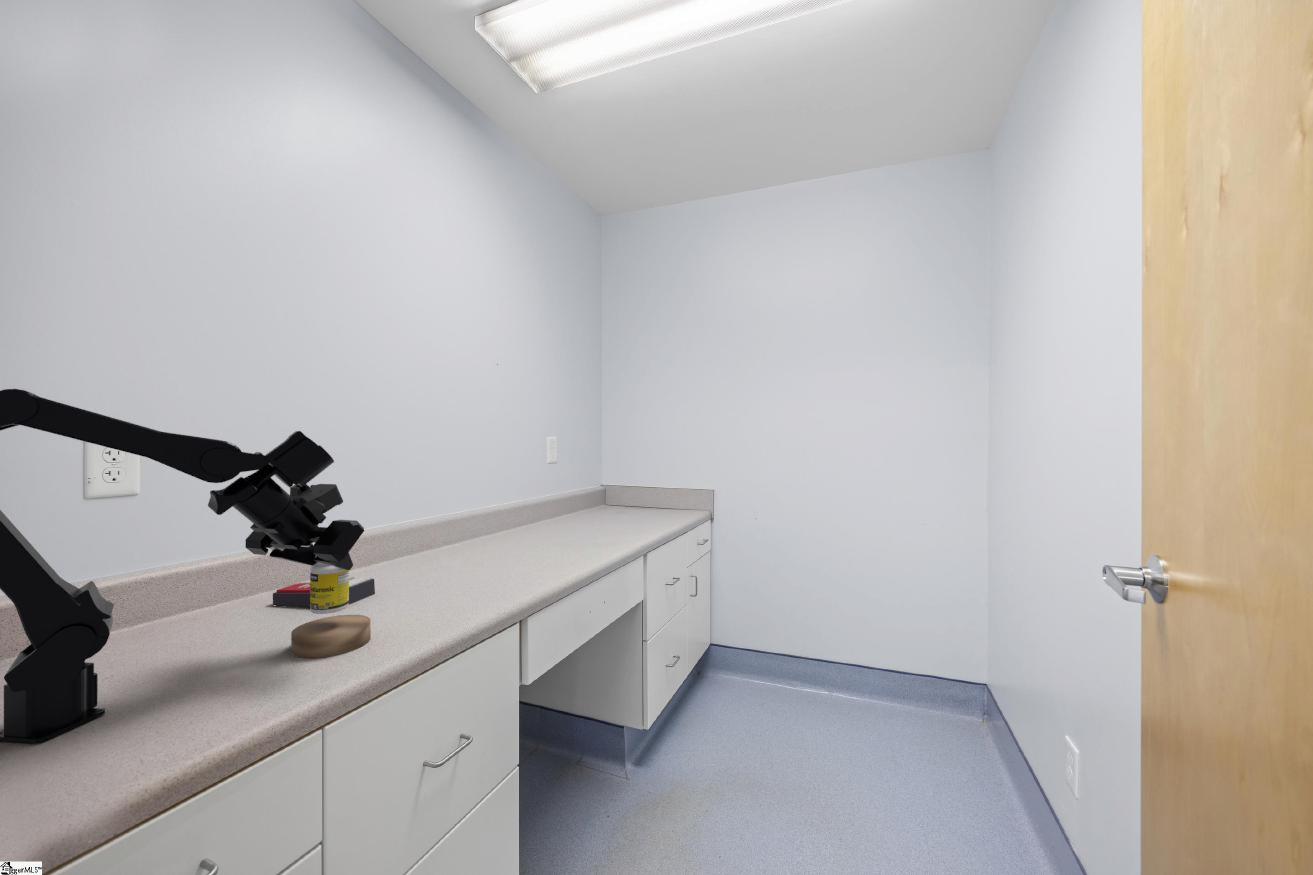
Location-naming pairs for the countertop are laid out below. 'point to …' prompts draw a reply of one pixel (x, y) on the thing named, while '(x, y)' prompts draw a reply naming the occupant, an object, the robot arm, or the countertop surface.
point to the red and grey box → (301, 593)
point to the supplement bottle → (328, 588)
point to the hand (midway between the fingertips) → (337, 566)
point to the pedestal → (330, 636)
